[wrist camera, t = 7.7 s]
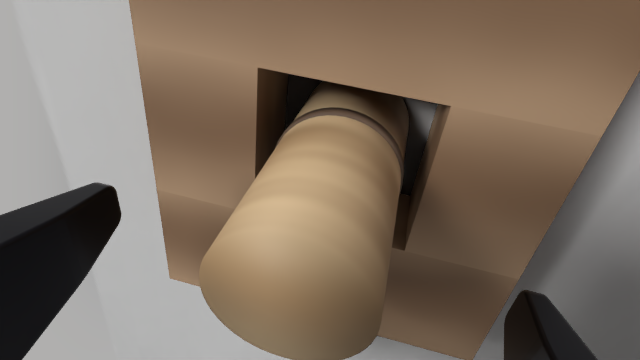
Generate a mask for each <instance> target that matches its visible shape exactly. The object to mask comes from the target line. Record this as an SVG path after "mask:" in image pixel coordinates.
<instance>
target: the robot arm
mask: <svg viewBox="0 0 640 360" xmlns="http://www.w3.org/2000/svg"><path fill="white" fill-rule="evenodd" d="M120 219H121V210H120V206H119V201H118V197H117V192H116V190H115V188H114V187H112V186H110V185H106V184H102V183H92V184H89V185H86V186H83V187H80V188H78V189H75V190H72V191H69V192H66V193H63V194H60V195H57V196H54V197H51V198H49V199H46V200H43V201H40V202H37V203H34V204H31V205H28V206H25V207H22V208H20V209H17V210H14V211H11V212H8V213H5V214H2V215H0V360H22V359H23V358H24V356H25V355H26V354H27V353H28V351H29V350H30V349H31V347H32V346H33V345H34V344H35V342H36V341H37V340H38V338H39V337H40V336H41V334H42V333H43V332H44V331H45V329H46V328H47V327H48V325H49V324H50V323H51V322H52V320H53V319H54V318H55V316H56V315H57V314H58V313H59V311H60V310H61V309H62V307H63V306H64V305H65V303H66V302H67V301H68V300H69V298H70V297H71V295H72V294H73V293H74V292H75V291H76V289H77V288H78V287H79V285H80V284H81V283H82V281H83V280H84V278H85V277H86V275H87V274H88V272H89V271H90V269H91V268H92V266H93V265H94V263H95V261H96V260H97V258H98V257H99V255H100V253H101V252H102V250H103V249H104V247H105V245H106V244H107V242H108V241H109V239H110V237H111V236H112V234H113V232H114V231H115V229H116V228H117V226H118V224H119V222H120ZM504 360H598V359H597V358H596V357H595V356H594V354H593V353H592V352H591V351H590V349H589V348H588V347H587V346H586V345H585V343H584V342H583V341H582V340H581V338H580V337H579V336H578V335H577V333H576V332H575V331H574V330H573V328H572V327H571V326H570V325H569V324H568V322H567V321H566V320H565V319H564V317H563V316H562V315H561V314H560V312H559V311H558V310H557V309H556V307H555V306H554V305H553V304H552V303H551V301H550V300H549V299H548V298H547V297H546V296H545V295H543V294H541V293H537V292H533V291H529V290H523V291H521V292H520V293H519V295H518V296H517V298H516V300H515V301H514V303H513V305H512V306H511V308H510V310H509V311H508V313H507V315H506V318H505V323H504Z"/></svg>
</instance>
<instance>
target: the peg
mask: <svg viewBox="0 0 640 360" xmlns="http://www.w3.org/2000/svg"><path fill="white" fill-rule="evenodd" d="M408 128H409V117H408V111H407V107H406V105H405V102H404V100H403V99H402V97H401V96H398V95H393V94H388V93H383V92H378V91H373V90H368V89H363V88H358V87H353V86H348V85H343V84H338V83H333V82H328V81H322V82H321V83H320V84H319V85H318V86H317V87H316V88H315V89H314V91H313V92H312V94H311V95H310V97H309V98H308V100H307V101H306V103H305V104H304V106H303V107H302V109H301V110H300V112H299V113H298V115H297V116H296V118H295V119H294V121H293V122H292V123H291V124H290V125H289V126H288V127H287V129H286V130H285V131H284V133H283V134H282V136H281V137H280V139H279V141H278V143H277V145H276V147H275V150H274V151H273V153H272V154H271V156H270V157H269V159H268V160H267V162H266V163H265V165H264V166H263V168H262V169H261V171H260V172H259V174H258V175H257V177H256V178H255V180H254V182H253V183H252V185H251V186H250V188H249V189H248V191H247V192H246V194H245V195H244V197H243V198H242V200H241V201H240V203H239V204H238V206H237V207H236V209H235V210H234V212H233V213H232V215H231V216H230V218H229V219H228V221H227V222H226V224H225V225H224V227H223V228H222V230H221V231H220V233H219V235H218V236H217V238H216V239H215V241H214V242H213V244H212V245H211V247H210V248H209V250H208V251H207V253H206V254H205V256H204V258H203V260H202V262H201V265H200V270H199V282H200V288H201V291H202V293H203V296H204V298H205V300H206V302H207V304H208V306H209V307H210V309H211V310H212V312H213V313H214V314H215V315H216V316H217V318H218V319H219V320H220V321H221V322H222V323H223V324H224V325H225V326H226V327H227V328H229V329H230V330H231V331H232V332H233V333H235V334H236V335H238V336H239V337H240V338H242V339H243V340H245V341H247V342H248V343H250V344H252V345H254V346H256V347H258V348H260V349H262V350H264V351H267V352H269V353H272V354H275V355H278V356H281V357H285V358H289V359H293V360H342V359H346V358H349V357H352V356H354V355H356V354H358V353H360V352H361V351H363V350H364V349H366V348H367V347H368V346H369V345H370V344H371V343H372V342H373V341H374V339H375V338H376V336H377V334H378V332H379V330H380V325H381V320H382V313H383V306H384V299H385V292H386V285H387V278H388V270H389V263H390V256H391V249H392V242H393V235H394V228H395V221H396V213H397V206H398V199H399V195H400V192H401V189H402V184H403V177H404V156H405V149H406V142H407V135H408Z"/></svg>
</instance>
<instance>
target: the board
mask: <svg viewBox="0 0 640 360" xmlns="http://www.w3.org/2000/svg"><path fill="white" fill-rule="evenodd" d="M129 4H130V11H131V17H132V24H133V31H134V38H135V45H136V51H137V58H138V65H139V72H140V79H141V85H142V92H143V99H144V106H145V113H146V119H147V126H148V133H149V140H150V147H151V153H152V160H153V167H154V174H155V180H156V187H157V194H158V201H159V208H160V214H161V221H162V228H163V235H164V242H165V248H166V255H167V262H168V269H169V276H170V278H171V279H174V280H178V281H182V282H185V283H189V284H193V285H196V286H200V282H199V270H200V265H201V262H202V260H203V258H204V256H205V254H206V253H207V251H208V250H209V248H210V247H211V245H212V244H213V242H214V241H215V239H216V238H217V236H218V235H219V233H220V231H221V230H222V228H223V227H224V225H225V224H226V222H227V221H228V219H229V218H230V216H231V215H232V213H233V212H234V210H235V209H236V207H237V206H238V204H239V203H240V201H241V200H242V198H243V197H244V195H245V194H246V192H247V191H248V189H249V188H250V186H251V185H252V183H253V182H254V180H255V178H256V177H257V175H258V174H259V172H260V171H261V169H262V168H263V166H264V165H265V163H266V162H267V160H268V159H269V157H270V156H271V154H272V153H273V151H274V150H275V147H276V145H277V143H278V141H279V139H280V137H281V136H282V134H283V133H284V130H285V116H286V102H287V87H288V74H293V75H298V76H303V77H308V78H313V79H318V80H323V81H328V82H333V83H338V84H343V85H348V86H353V87H358V88H363V89H368V90H373V91H378V92H383V93H388V94H393V95H398V96H403V97H408V98H413V99H418V100H423V101H428V102H433V103H438V105H437V108H436V112H435V115H434V118H433V122H432V125H431V128H430V132H429V135H428V138H427V142H426V145H425V148H424V152H423V155H422V158H421V162H420V165H419V168H418V172H417V175H416V178H415V182H414V185H413V188H412V192H411V195H410V196H408V195H404V194H400V195H399V199H398V206H397V213H396V221H395V228H394V235H393V242H392V249H391V256H390V263H389V270H388V278H387V285H386V292H385V299H384V306H383V313H382V320H381V325H380V330H379V332H378V334H377V336H381V337H384V338H388V339H391V340H395V341H399V342H402V343H406V344H410V345H413V346H417V347H420V348H424V349H428V350H431V351H435V352H438V353H442V354H446V355H449V356H453V357H457V358H460V359H464V360H473V358H474V356H475V354H476V353H477V351H478V349H479V348H480V346H481V344H482V342H483V341H484V339H485V337H486V335H487V334H488V332H489V330H490V329H491V327H492V325H493V323H494V322H495V320H496V318H497V316H498V315H499V313H500V311H501V310H502V308H503V306H504V304H505V303H506V301H507V299H508V298H509V296H510V294H511V292H512V291H513V289H514V287H515V285H516V284H517V282H518V280H519V279H520V277H521V275H522V273H523V272H524V270H525V268H526V266H527V265H528V263H529V261H530V260H531V258H532V256H533V254H534V253H535V251H536V249H537V247H538V246H539V244H540V242H541V241H542V239H543V237H544V235H545V234H546V232H547V230H548V228H549V227H550V225H551V223H552V222H553V220H554V218H555V216H556V215H557V213H558V211H559V209H560V208H561V206H562V204H563V203H564V201H565V199H566V197H567V196H568V194H569V192H570V190H571V189H572V187H573V185H574V184H575V182H576V180H577V178H578V177H579V175H580V173H581V171H582V170H583V168H584V166H585V165H586V163H587V161H588V159H589V158H590V156H591V154H592V152H593V151H594V149H595V147H596V146H597V144H598V142H599V140H600V139H601V137H602V135H603V133H604V132H605V130H606V128H607V127H608V125H609V123H610V121H611V120H612V118H613V116H614V114H615V113H616V111H617V109H618V108H619V106H620V104H621V102H622V101H623V99H624V97H625V95H626V94H627V92H628V90H629V89H630V87H631V85H632V83H633V82H634V80H635V78H636V76H637V75H638V73H639V71H640V0H129Z"/></svg>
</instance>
